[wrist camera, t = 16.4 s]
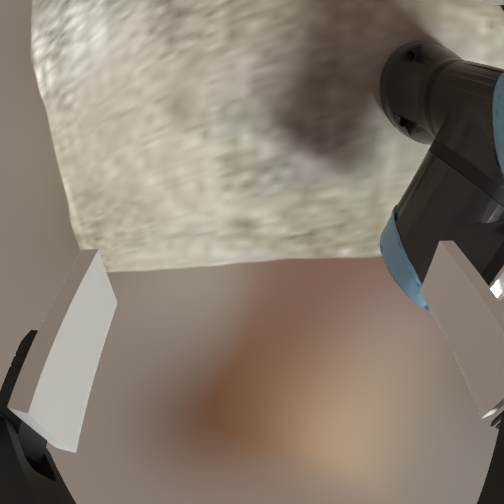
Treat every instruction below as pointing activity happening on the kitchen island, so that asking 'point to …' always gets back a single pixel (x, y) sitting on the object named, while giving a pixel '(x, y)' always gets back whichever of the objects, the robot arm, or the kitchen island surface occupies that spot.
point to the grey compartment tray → (493, 2)
